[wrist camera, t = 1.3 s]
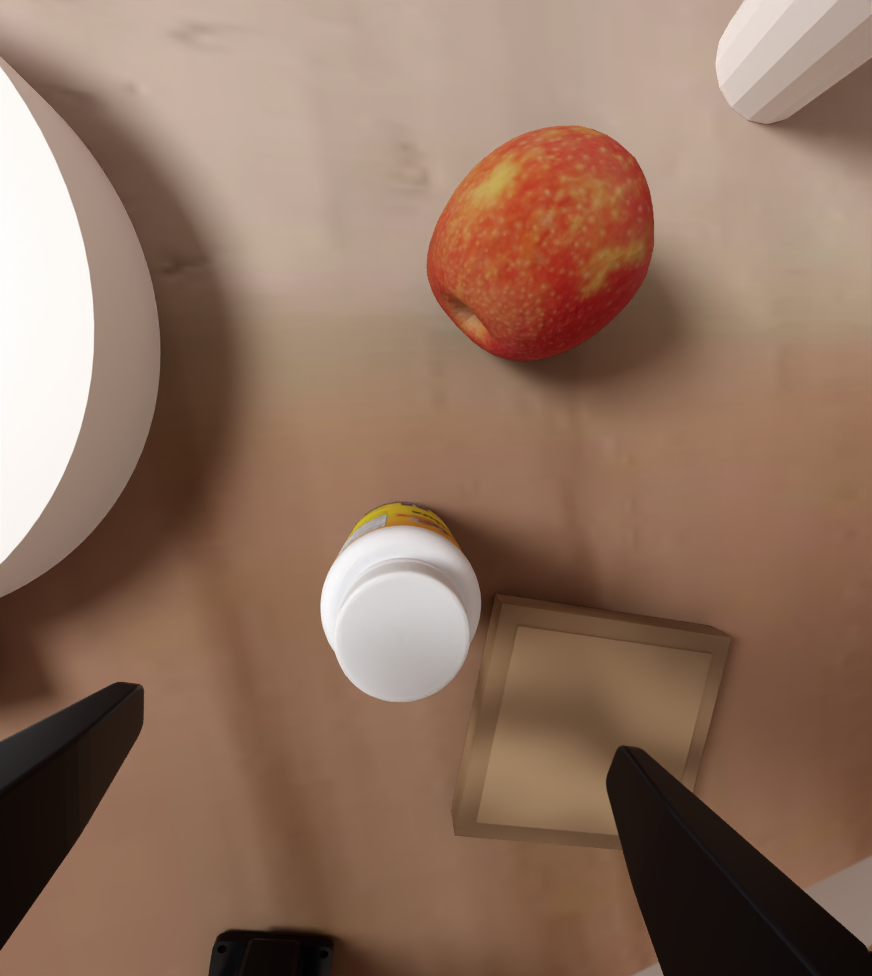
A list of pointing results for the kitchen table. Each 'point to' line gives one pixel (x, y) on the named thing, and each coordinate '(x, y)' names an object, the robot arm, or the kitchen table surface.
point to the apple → (543, 242)
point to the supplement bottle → (400, 604)
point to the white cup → (790, 53)
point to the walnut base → (579, 716)
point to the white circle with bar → (65, 338)
